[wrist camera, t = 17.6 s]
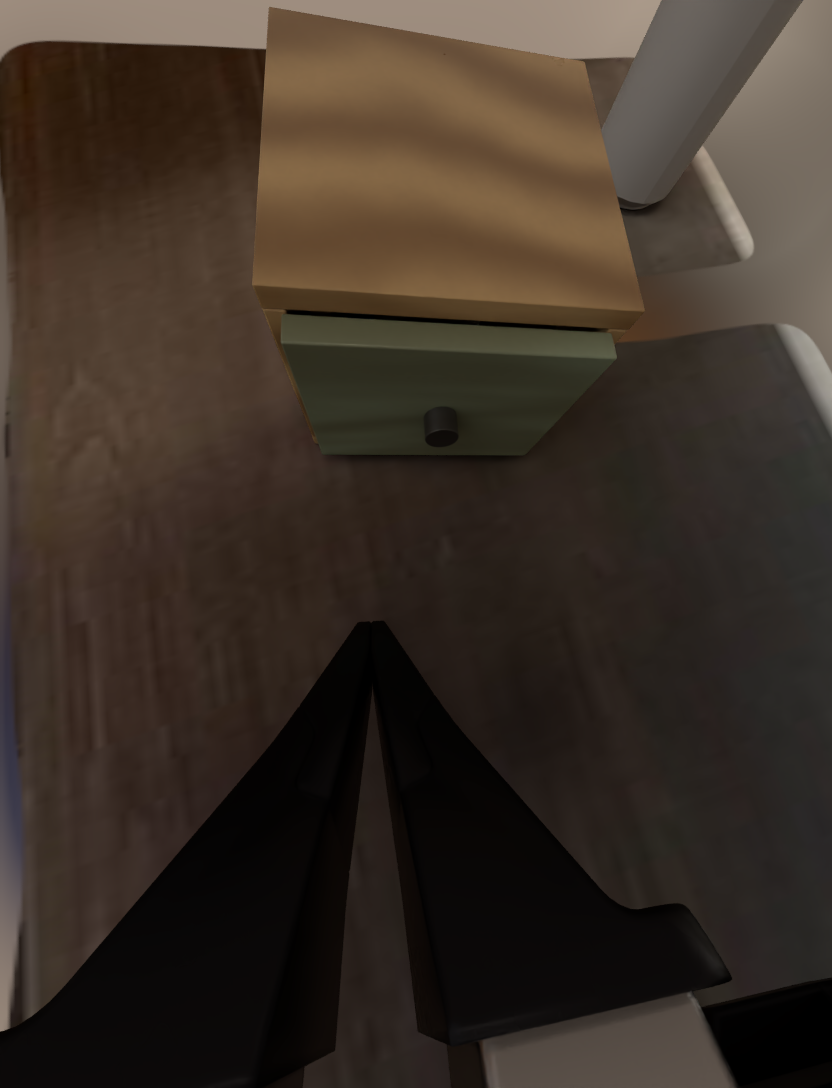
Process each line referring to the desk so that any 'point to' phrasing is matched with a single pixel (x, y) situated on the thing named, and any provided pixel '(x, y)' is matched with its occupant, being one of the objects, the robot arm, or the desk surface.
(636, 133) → the can
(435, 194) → the cabinet
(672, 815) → the desk surface
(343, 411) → the drawer
